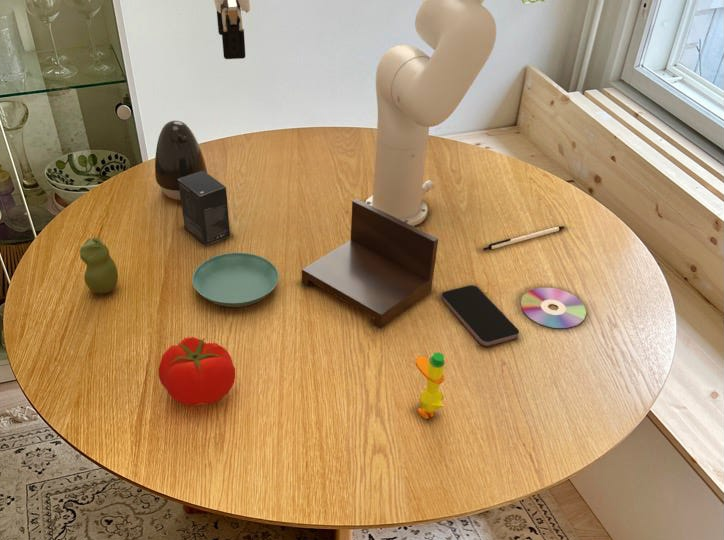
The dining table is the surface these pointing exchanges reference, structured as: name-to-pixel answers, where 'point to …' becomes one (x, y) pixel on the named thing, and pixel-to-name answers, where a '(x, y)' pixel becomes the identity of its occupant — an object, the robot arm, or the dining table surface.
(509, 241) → the pen
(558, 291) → the cd
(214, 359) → the tomato
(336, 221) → the dining table surface
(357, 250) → the shelf
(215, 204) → the box
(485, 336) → the smartphone
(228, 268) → the saucer
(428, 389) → the toy figure
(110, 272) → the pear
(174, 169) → the dark brown egg shape
